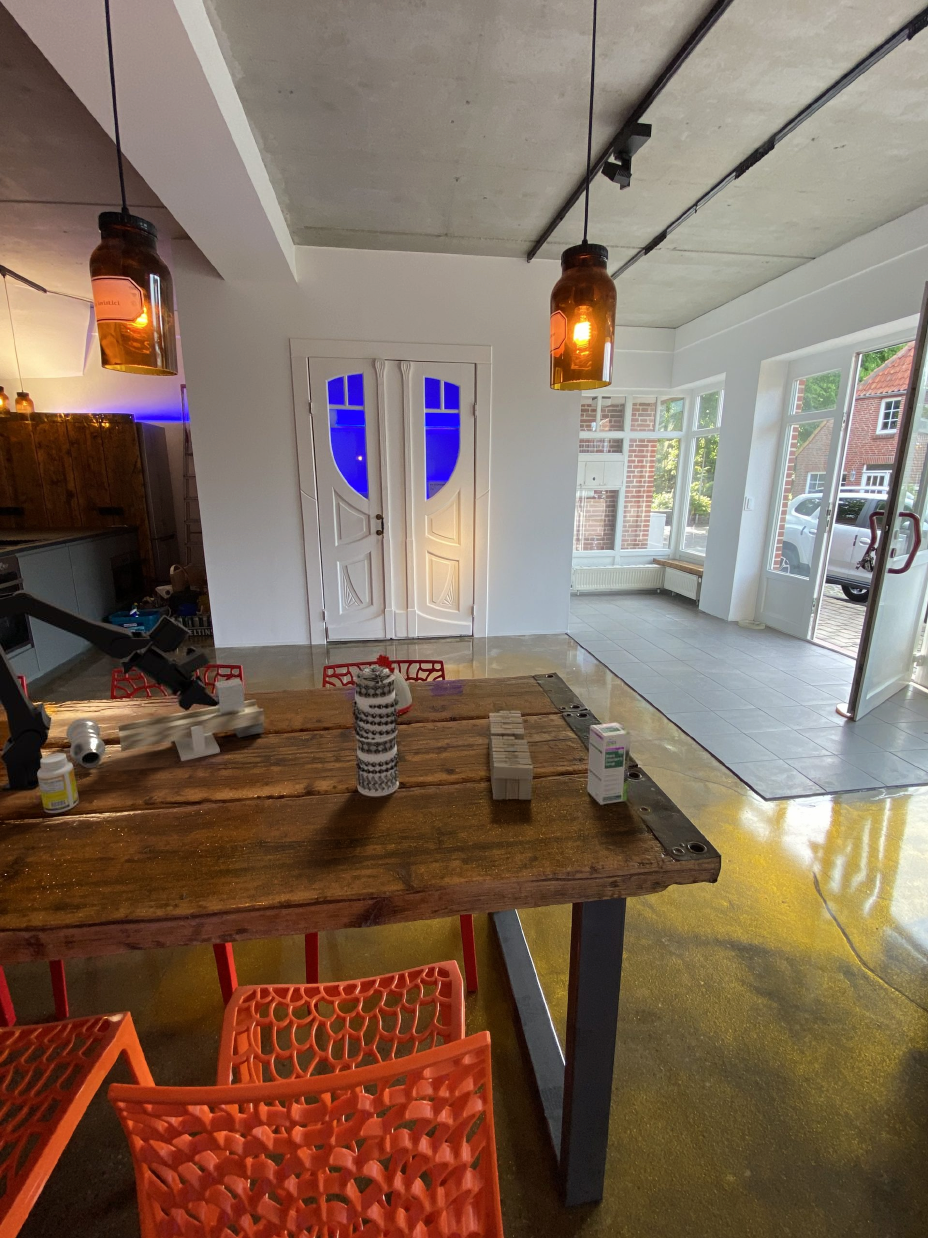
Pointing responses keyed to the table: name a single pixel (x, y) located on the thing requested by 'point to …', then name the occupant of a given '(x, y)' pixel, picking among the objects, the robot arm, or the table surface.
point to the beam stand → (197, 744)
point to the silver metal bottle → (85, 742)
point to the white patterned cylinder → (376, 731)
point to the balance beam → (189, 726)
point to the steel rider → (230, 697)
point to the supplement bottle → (57, 783)
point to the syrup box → (608, 763)
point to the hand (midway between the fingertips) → (216, 704)
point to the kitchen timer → (398, 685)
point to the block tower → (509, 757)
